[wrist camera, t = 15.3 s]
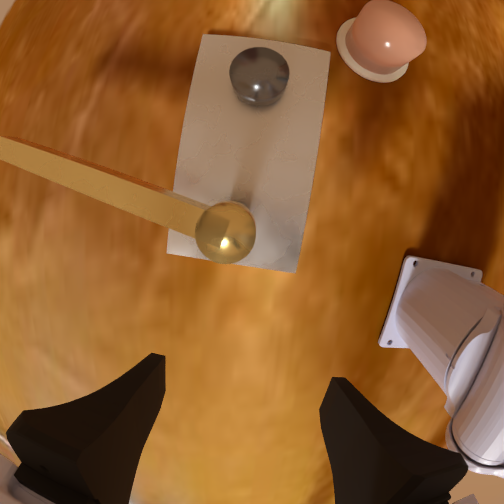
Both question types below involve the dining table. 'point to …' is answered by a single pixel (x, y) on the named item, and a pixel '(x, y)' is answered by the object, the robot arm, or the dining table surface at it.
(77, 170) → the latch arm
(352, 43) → the cap
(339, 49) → the coaster
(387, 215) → the dining table surface
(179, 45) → the dining table surface
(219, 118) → the plate
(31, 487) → the robot arm
